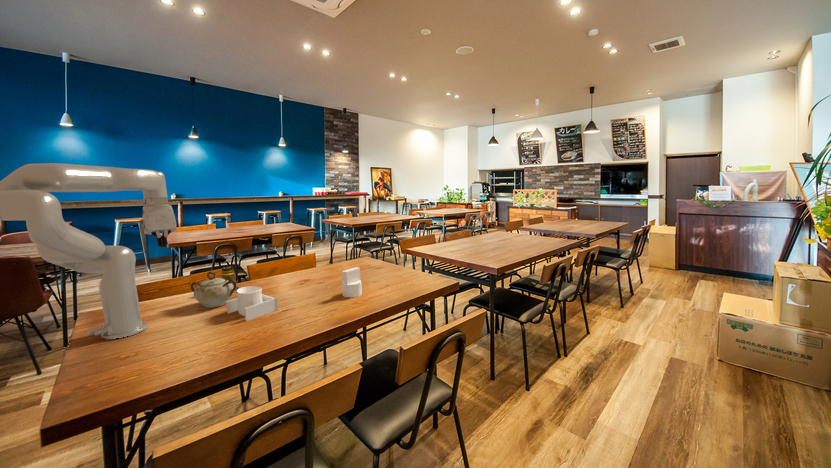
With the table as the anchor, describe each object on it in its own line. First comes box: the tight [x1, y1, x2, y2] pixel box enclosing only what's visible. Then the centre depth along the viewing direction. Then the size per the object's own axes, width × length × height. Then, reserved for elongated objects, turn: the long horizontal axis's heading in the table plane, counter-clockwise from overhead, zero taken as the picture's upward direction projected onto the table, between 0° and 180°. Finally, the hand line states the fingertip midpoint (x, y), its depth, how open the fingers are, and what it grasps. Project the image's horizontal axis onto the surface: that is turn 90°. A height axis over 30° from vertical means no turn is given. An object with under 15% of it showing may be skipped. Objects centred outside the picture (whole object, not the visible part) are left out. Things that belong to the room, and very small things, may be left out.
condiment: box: [220, 266, 240, 293], centre depth 161 cm, size 7×8×12 cm
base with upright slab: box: [341, 267, 363, 298], centre depth 153 cm, size 9×9×12 cm
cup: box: [235, 285, 263, 317], centre depth 133 cm, size 10×10×10 cm
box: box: [225, 293, 278, 322], centre depth 134 cm, size 13×15×5 cm
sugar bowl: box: [190, 271, 237, 309], centre depth 142 cm, size 20×15×15 cm
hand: (162, 246), depth 134 cm, fingers closed
